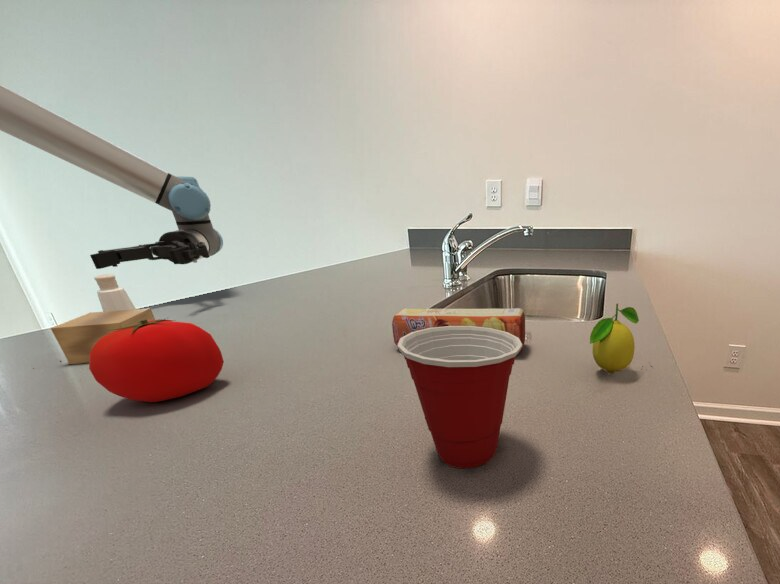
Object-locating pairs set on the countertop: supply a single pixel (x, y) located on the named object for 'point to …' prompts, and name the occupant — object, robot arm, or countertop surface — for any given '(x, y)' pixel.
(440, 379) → the plastic cup
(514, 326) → the snack package
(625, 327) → the lemon
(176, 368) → the tomato
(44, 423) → the countertop surface
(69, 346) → the wood block
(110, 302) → the salt shaker
